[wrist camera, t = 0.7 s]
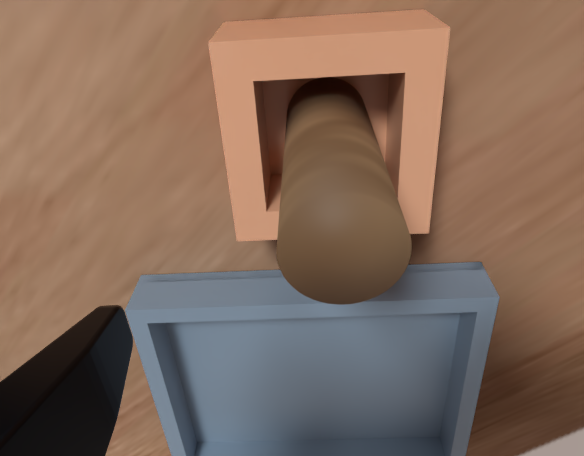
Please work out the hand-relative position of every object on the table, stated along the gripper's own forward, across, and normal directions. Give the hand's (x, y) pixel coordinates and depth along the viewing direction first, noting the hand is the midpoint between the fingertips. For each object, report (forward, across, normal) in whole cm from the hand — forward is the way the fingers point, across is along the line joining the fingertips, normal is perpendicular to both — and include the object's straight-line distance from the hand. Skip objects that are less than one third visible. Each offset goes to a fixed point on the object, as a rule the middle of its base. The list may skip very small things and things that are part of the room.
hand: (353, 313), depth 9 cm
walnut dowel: (+11, 0, 0) cm, 11 cm away
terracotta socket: (+11, 0, 0) cm, 11 cm away
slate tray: (+11, +1, +14) cm, 18 cm away
